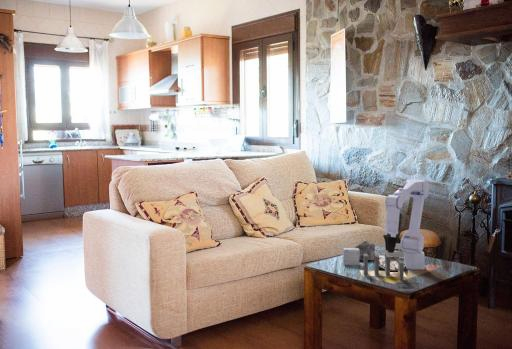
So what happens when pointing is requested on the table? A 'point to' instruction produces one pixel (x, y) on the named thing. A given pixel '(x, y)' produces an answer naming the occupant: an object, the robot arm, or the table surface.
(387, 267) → the domino
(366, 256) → the end domino
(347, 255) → the medicine box
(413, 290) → the table surface
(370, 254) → the mineral rock
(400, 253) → the cassette
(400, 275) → the loose domino
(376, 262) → the domino
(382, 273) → the board
